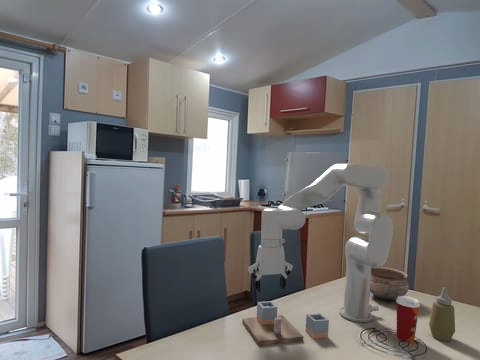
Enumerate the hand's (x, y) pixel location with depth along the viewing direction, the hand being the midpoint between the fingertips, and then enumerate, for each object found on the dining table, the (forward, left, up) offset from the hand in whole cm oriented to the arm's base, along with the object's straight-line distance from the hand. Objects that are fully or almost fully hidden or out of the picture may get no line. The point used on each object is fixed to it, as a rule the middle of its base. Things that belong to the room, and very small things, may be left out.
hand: (270, 289), depth 125 cm
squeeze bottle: (-58, +21, -13) cm, 63 cm away
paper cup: (-44, +19, -13) cm, 50 cm away
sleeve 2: (-14, +10, -13) cm, 22 cm away
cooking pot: (-65, -16, -13) cm, 68 cm away
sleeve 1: (+1, 0, -12) cm, 12 cm away
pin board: (+1, +5, -13) cm, 14 cm away
